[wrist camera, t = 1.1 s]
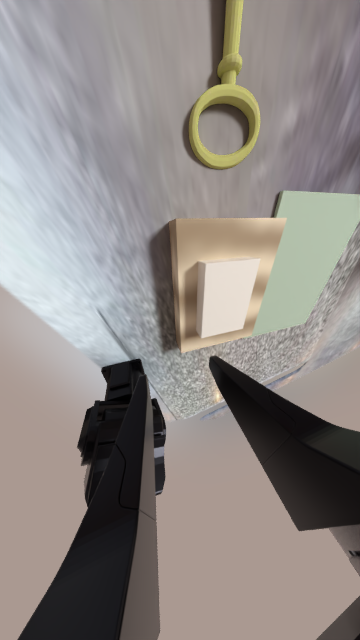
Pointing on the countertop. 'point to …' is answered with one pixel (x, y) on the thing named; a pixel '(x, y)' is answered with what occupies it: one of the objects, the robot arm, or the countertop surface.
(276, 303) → the mat
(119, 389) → the robot arm
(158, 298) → the countertop surface
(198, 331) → the white flat block
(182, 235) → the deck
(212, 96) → the key
